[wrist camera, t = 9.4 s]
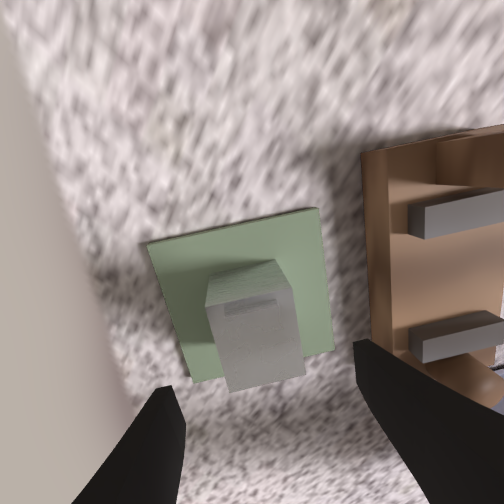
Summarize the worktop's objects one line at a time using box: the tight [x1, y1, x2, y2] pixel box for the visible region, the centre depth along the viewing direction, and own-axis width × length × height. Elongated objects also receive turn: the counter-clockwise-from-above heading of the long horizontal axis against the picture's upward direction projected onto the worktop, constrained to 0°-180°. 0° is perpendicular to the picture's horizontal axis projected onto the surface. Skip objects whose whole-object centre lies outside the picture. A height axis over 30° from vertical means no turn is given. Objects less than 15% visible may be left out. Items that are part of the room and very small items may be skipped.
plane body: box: [361, 124, 504, 408], centre depth 14 cm, size 15×7×6 cm, turn 11°
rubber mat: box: [147, 207, 335, 383], centre depth 16 cm, size 10×10×1 cm
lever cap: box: [205, 259, 306, 393], centre depth 14 cm, size 5×4×5 cm
